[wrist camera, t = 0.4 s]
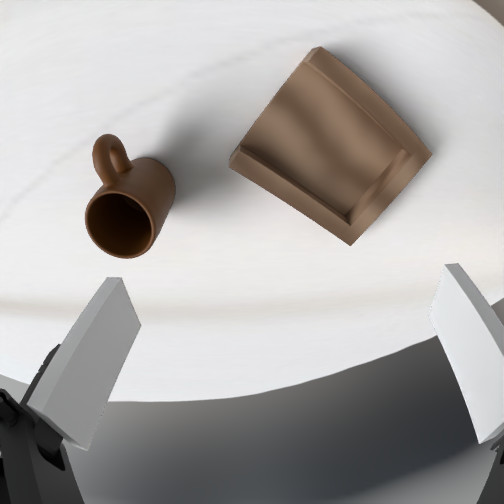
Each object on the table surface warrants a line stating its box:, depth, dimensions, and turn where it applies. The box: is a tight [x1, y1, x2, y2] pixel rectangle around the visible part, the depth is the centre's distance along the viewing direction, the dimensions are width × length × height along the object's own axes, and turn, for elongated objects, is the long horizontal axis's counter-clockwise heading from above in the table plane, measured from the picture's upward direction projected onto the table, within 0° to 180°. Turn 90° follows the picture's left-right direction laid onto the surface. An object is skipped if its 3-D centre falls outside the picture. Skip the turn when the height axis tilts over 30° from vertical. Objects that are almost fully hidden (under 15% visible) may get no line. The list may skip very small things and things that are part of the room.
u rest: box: [229, 46, 432, 246], centre depth 29 cm, size 15×17×4 cm
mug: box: [85, 134, 175, 259], centre depth 27 cm, size 12×8×9 cm, turn 7°
